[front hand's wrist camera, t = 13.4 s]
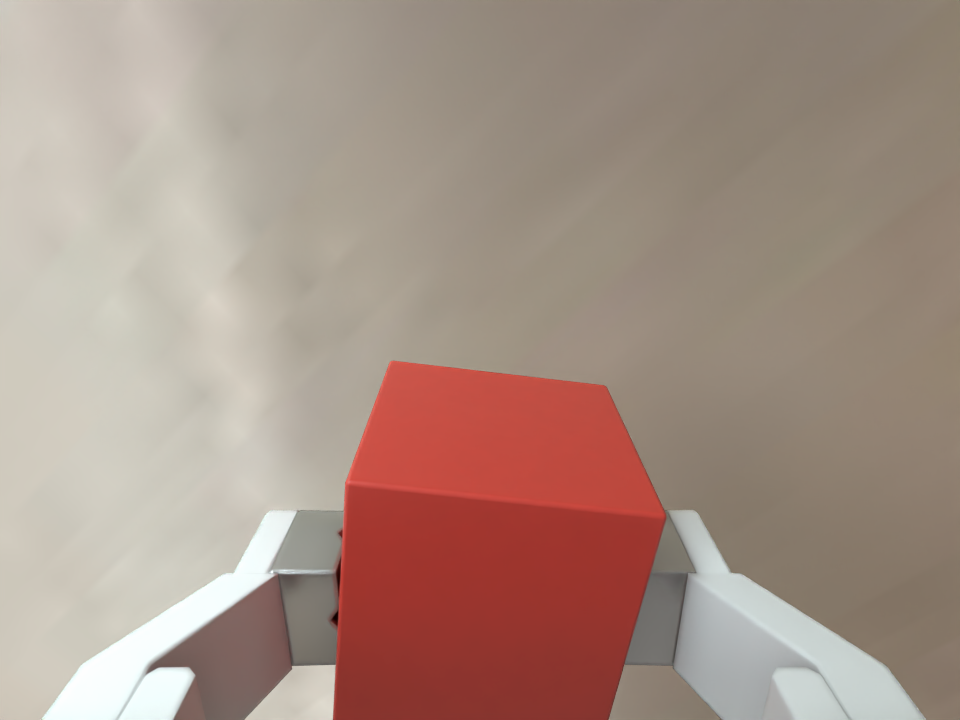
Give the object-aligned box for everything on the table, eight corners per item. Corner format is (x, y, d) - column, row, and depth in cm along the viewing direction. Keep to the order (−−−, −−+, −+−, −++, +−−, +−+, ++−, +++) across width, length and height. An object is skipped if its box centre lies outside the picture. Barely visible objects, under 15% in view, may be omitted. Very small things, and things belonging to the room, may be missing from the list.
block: (562, 585, 13) (595, 772, 9) (374, 565, 13) (330, 749, 9) (607, 384, 11) (669, 515, 8) (389, 358, 11) (344, 481, 7)
